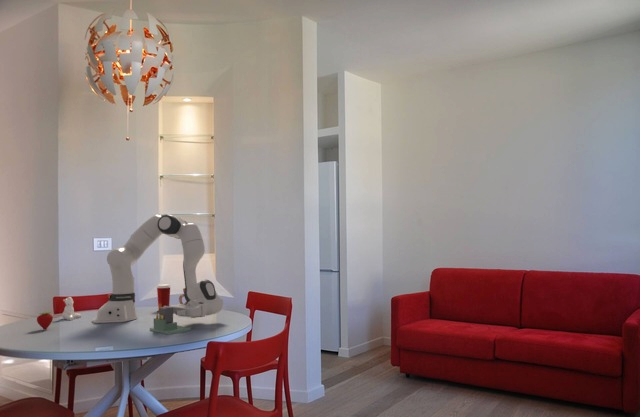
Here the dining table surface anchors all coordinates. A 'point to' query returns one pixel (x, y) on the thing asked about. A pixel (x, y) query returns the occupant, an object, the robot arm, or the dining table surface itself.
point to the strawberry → (44, 320)
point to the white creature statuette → (69, 310)
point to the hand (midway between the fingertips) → (170, 312)
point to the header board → (167, 326)
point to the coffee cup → (163, 295)
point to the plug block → (166, 313)
